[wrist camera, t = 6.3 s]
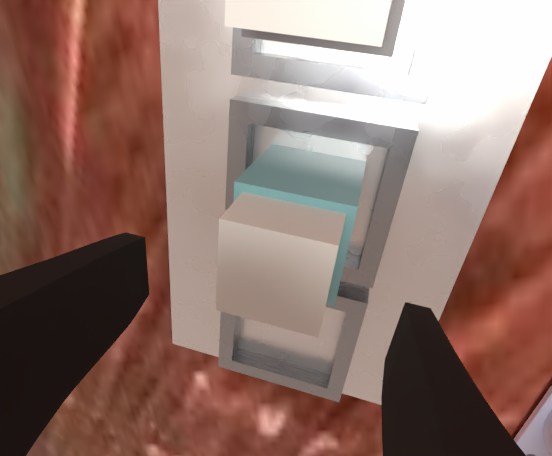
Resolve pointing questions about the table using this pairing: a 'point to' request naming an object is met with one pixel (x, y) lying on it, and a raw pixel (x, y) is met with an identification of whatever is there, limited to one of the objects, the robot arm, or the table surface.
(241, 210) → the plug
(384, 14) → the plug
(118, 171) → the table surface
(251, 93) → the panel
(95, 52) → the table surface
